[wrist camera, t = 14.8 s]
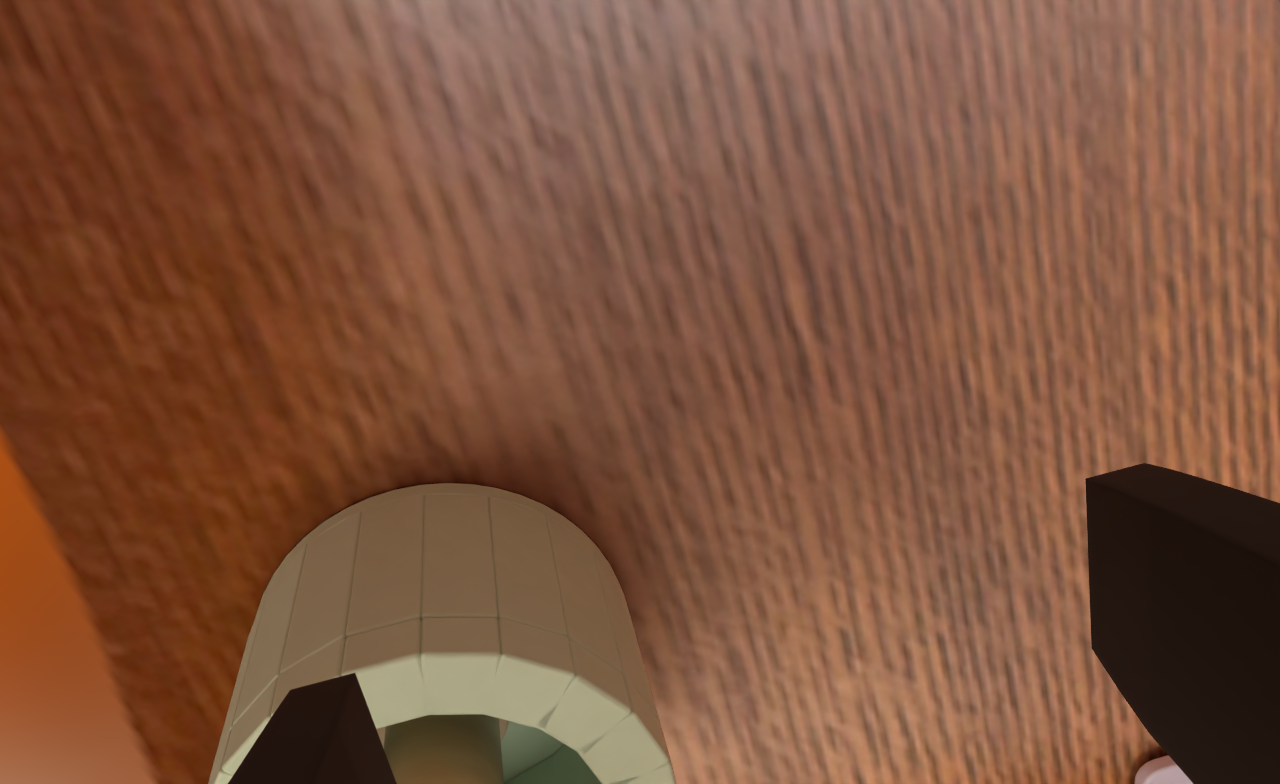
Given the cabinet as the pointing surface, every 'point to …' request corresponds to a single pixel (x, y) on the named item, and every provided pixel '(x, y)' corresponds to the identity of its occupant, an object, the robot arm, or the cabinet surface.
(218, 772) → the jar
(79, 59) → the cabinet surface
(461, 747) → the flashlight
